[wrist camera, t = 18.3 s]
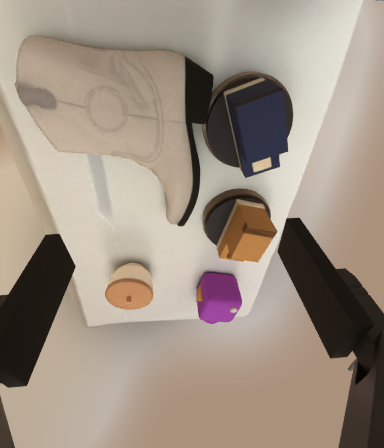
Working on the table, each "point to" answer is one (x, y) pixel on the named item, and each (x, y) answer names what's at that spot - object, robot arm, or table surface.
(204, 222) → the turntable base
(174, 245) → the table surface
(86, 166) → the table surface
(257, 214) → the tan sneaker
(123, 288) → the trinket box
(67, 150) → the cowboy boot
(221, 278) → the toy camera
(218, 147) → the navy and black piece
